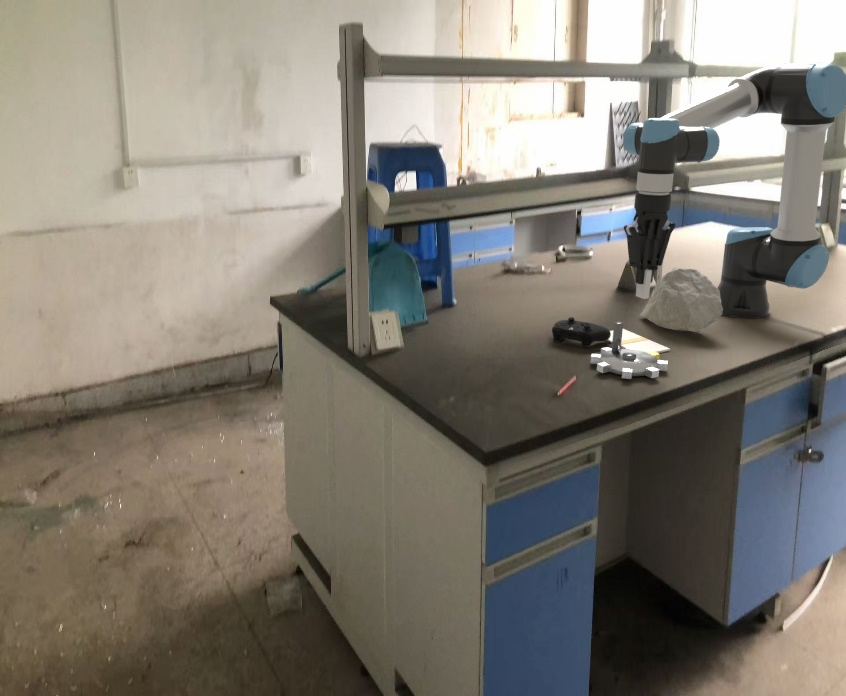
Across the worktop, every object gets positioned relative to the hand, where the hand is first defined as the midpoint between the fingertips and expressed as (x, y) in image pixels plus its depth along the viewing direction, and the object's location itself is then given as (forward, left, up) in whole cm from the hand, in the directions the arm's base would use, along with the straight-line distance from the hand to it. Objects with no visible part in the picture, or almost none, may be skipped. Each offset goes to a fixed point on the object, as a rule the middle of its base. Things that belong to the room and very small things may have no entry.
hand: (642, 297), depth 179 cm
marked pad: (-6, -9, -15) cm, 18 cm away
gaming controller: (+5, -16, -15) cm, 22 cm away
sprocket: (+6, +4, -15) cm, 16 cm away
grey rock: (-24, -12, -15) cm, 31 cm away
